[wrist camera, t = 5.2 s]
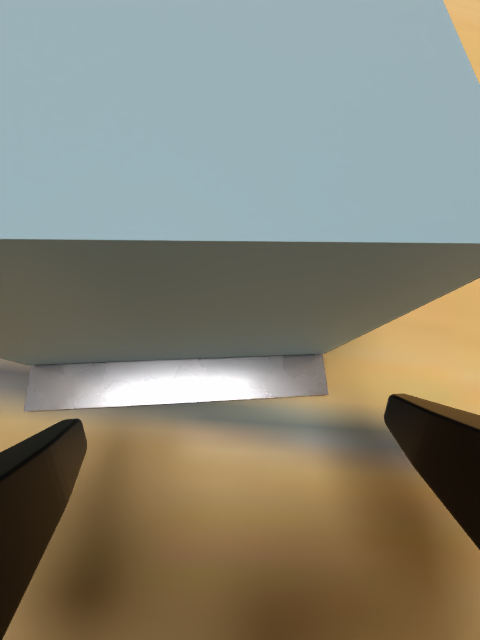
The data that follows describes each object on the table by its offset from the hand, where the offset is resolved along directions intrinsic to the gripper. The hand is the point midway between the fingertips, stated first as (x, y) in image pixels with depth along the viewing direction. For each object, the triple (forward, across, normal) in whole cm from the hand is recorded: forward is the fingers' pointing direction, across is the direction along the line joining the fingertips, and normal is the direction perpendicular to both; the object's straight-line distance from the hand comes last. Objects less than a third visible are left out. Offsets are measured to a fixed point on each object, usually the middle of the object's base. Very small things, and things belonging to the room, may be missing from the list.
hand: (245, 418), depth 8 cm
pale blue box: (+9, -2, +3) cm, 9 cm away
